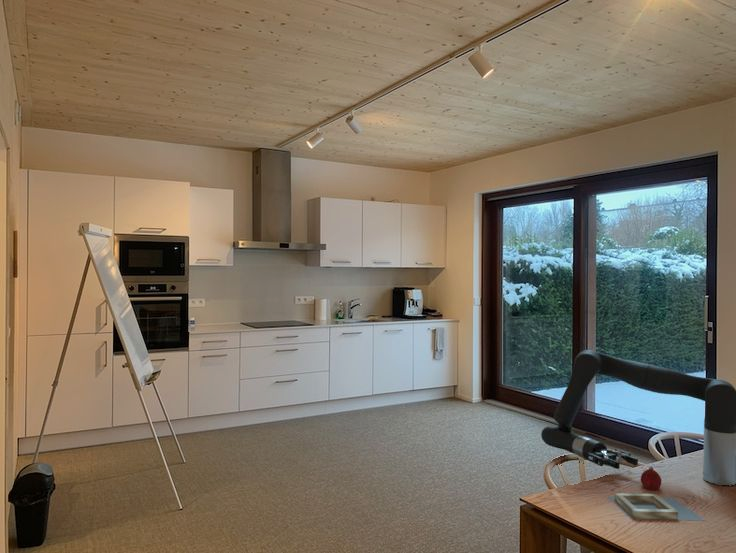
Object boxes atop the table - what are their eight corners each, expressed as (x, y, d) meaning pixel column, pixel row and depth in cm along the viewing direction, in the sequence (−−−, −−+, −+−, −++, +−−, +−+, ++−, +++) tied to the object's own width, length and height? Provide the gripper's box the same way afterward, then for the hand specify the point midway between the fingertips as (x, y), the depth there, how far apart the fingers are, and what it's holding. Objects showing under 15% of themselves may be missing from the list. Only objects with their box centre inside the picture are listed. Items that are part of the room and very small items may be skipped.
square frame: (654, 500, 161) (655, 493, 161) (678, 519, 149) (678, 511, 149) (614, 499, 161) (614, 493, 161) (634, 518, 149) (634, 511, 149)
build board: (673, 502, 164) (673, 497, 164) (704, 525, 149) (704, 520, 149) (607, 501, 164) (607, 496, 164) (631, 524, 149) (631, 519, 149)
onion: (663, 496, 168) (664, 471, 168) (643, 494, 169) (644, 469, 169) (657, 489, 173) (658, 464, 173) (638, 487, 175) (638, 462, 174)
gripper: (574, 441, 190) (612, 455, 176) (603, 436, 196) (643, 450, 182) (574, 462, 191) (612, 478, 176) (603, 457, 197) (643, 472, 182)
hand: (628, 464), depth 179 cm, fingers open, 8 cm apart
